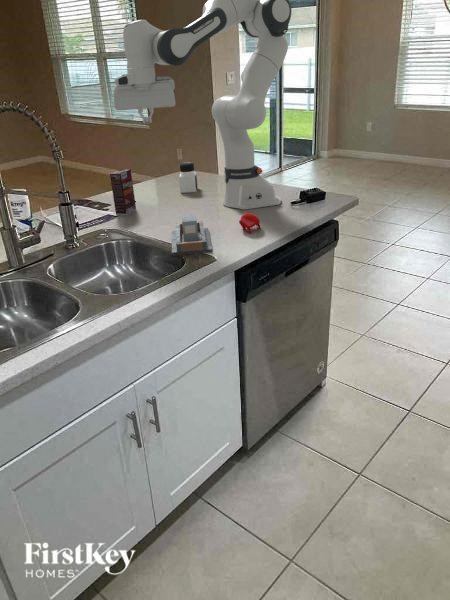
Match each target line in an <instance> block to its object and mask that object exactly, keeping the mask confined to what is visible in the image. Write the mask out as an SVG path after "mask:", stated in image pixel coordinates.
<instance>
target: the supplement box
mask: <svg viewBox="0 0 450 600" xmlns="http://www.w3.org/2000/svg"><path fill="white" fill-rule="evenodd" d="M109 177H110V184H111V190H112V198H113V203H114V210H115V211H114V212H115V216H119V217H121V216H122V217H124V216H126V217H127V216H128V215H130V214H131V213H133V212H134V211H137V205H136V199H135V192H134V191H135V190H134V185H133V184H134V183H133V176H132V169H129V168H120V169H118V170H116V171H114V172H112V173H109Z"/></svg>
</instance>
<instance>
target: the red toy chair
mask: <svg viewBox="0 0 450 600" xmlns="http://www.w3.org/2000/svg"><path fill="white" fill-rule="evenodd" d="M238 223H239V224H240V227H242V230H243V231H245V230H246V229H247V231H248V233H249V234H251V233H252V232H253V231H252V228H253V227H255V226H257V228H259V229H261V225H260V224H261V221H260V218H259V216H257V215H256V214H253V213H250V212H245V213H243V214H242V215H241V216H240V219H239V220H238Z"/></svg>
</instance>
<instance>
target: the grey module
mask: <svg viewBox="0 0 450 600" xmlns="http://www.w3.org/2000/svg"><path fill="white" fill-rule="evenodd" d="M197 222H198V220H197V214H196V213H193V214H182V215H181V223H182V226H183V236H184V242H192V241H198V231H197Z"/></svg>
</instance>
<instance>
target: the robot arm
mask: <svg viewBox="0 0 450 600" xmlns="http://www.w3.org/2000/svg"><path fill="white" fill-rule="evenodd" d="M291 17H292V6H291V2H290V0H207V1H206V2H205V3H204V5H203V7H202V15H201V17H199V18H197V19H196V20H194V21H192V22H191V23H190V24H188V25H187V26H185V27H183V28H180V27H176V28H171V29H168V30H163V29H160V28H158V27H156V26H154V25H152V24H151V23H150V22H148V20H146V19H139V20H135V21H131V22H128V23H126V24H125V25H124V27H123V30H122V31H123V33H122V35H123V36H122V37H123V38H122V39H123V40H122V41H123V49H124V55H125V57H126V72H127V73H126V74H124V73H123V74H122V75H121V76H118V77H116V78H115V79H114V83H115V84H114V85H115V88H114V89H113V106H114V109H115V110H116V111H128V110H138V111H137V112H138V115H139V116H140V118H141V119H142V124H152V123H153V121H152V120H153V119H152V116H153V114H154V111H155V110H154V109H157V108H158V109H160V108H161V109H162V108H174V107H175V106H176V97H175V93H174V90H175V88H176V84H175V80H174V79H173V78H172V77H170V75H169V76H168V75H167V76H166V75H165V76H156V70H155V69H156V68H155V65H156V64H158V65H161V66H175V67H178V66H182V65H183V64H185V63H186V62H187V61H188V60H189V58H190V57H191V56H192V54H193V52H194V51H195V50H196V48H198V47H199V46H201V45H202V44H203V43H205V42H206V41H208V40H209V39H210V38H212V37H213V36H215V35H219V34H222V33H223V34H224V33H225V32H227V31H229V30H231V29H233V28H235V27H236V26H237V25H239V24H240V26H241V27H242V29H243V31H244V33H245V34H246V35H247V36H249V37H251V38H256V39H257V38H258V41H257V45H256V48H255V50H254V51H253V53H252V54H251V56H250V58H249V60H248V62H247V63H246V65H245V67H244V69H242V70H243V71H242V72H241V75H240V80H241V86H240V89H239V92H238V93H237V94H236V95H233V94H231V95H230V94H227V95H223V96H220V97H219V98H217V99H215V101H214V102H213V103H212V106H211V115H212V118H213V120H214V122H215V123H216V124H217V127H218V129H219V133H220V136H221V139H222V143H223V147H224V148H223V149H224V151H223V152H224V163H225V164H224V165H225V166H224V170H223V171H224V172H223V173H224V174H223V176H224V182H225V190H224V191H225V193H224V199H223V206H226V207H227V208H232V209H233V208H234V209H240V210H251V209H256V208H257V209H258V208H259V209H260V208H263V207H272V206H278V205H280V204H281V203H282V198H281V197H280V196H279V195H277V194H276V192H275V187H274V186H273V184H272V183H271V182H270V181H268V179H266V178H264V177H263V176H261V175H262V173H263V169H262V167H259V166H257V165H255V146H254V143H253V141H252V139H251V138H250V136H249V133H248V131H249V130H253V129H257V128H259V127H261V126H262V125H263V123H264V121H265V119H266V118H267V117H266V116H267V109H266V105H265V102H266V98H267V94H268V92H269V90H270V88H271V86H272V83H274V80H275V78H276V77H277V74H278V73H279V71H280V69H281V67H282V65H283V63H284V61H285V58H286V55H287V52H288V50H289V45H288V44H289V42H288V41H287V39H286V38H285V34H286V33H287V32H288V30H289V25H290V21H291ZM144 109H145V110H146V109H148V110H149V112H150V113H149V116H147V117H145V115H144V114H143V111H144ZM247 130H248V131H247Z"/></svg>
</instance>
